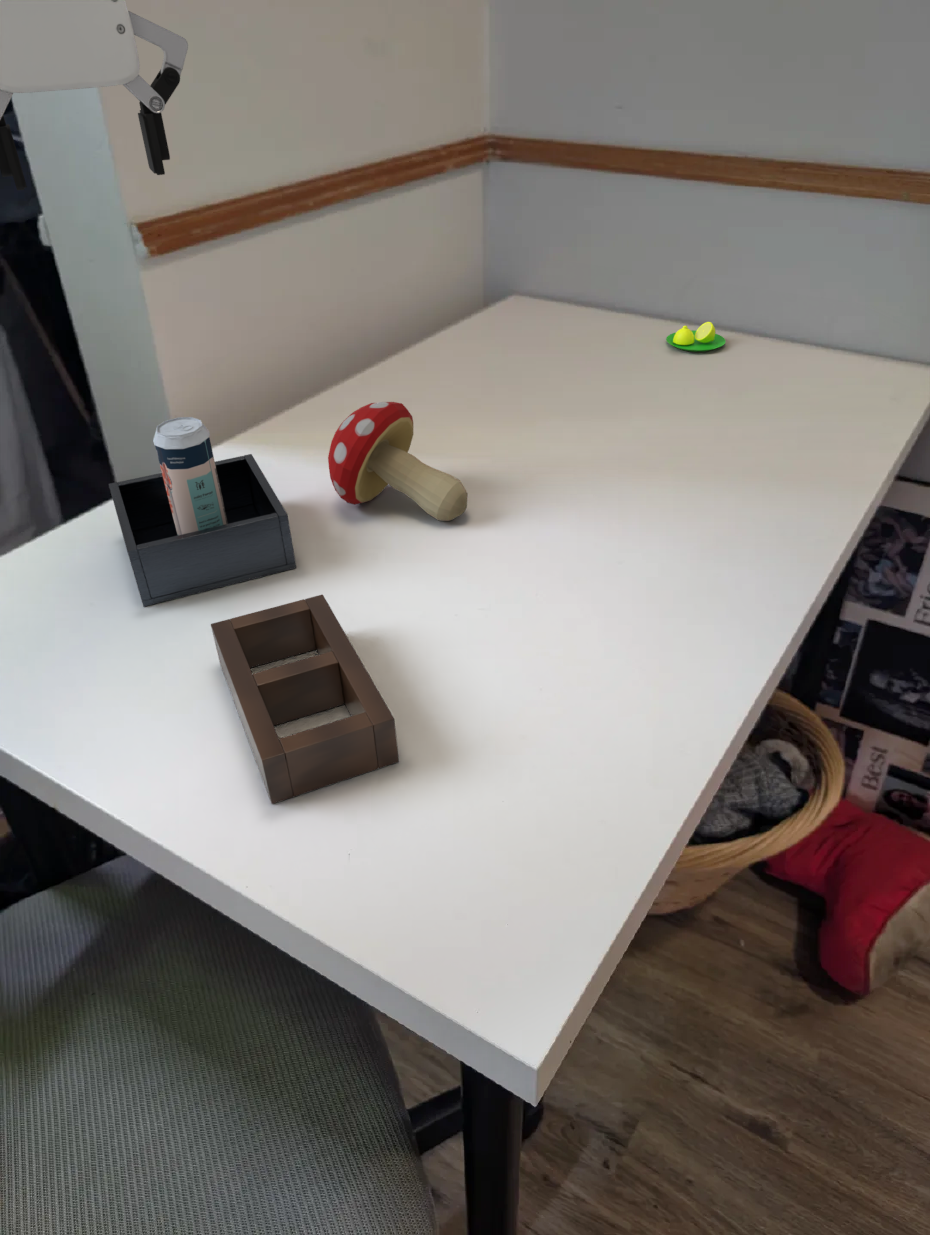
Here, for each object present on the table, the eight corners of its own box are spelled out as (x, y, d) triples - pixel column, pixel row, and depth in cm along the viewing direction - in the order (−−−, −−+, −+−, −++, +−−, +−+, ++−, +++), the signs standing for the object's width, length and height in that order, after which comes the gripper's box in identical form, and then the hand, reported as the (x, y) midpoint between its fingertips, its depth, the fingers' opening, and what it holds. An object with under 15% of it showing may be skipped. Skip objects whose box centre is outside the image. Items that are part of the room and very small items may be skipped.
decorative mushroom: (506, 465, 93) (387, 392, 96) (478, 452, 82) (344, 370, 85) (451, 559, 95) (336, 485, 98) (416, 559, 84) (288, 475, 87)
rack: (271, 804, 60) (261, 760, 58) (220, 664, 72) (210, 623, 70) (399, 762, 63) (394, 718, 60) (328, 634, 75) (322, 593, 73)
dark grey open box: (143, 607, 79) (127, 551, 76) (123, 535, 89) (108, 483, 86) (296, 568, 83) (287, 514, 80) (260, 504, 94) (251, 453, 90)
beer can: (198, 529, 89) (171, 412, 82) (242, 536, 87) (218, 417, 80) (170, 555, 85) (139, 434, 78) (215, 562, 84) (187, 440, 77)
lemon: (707, 332, 131) (710, 312, 129) (735, 350, 125) (738, 329, 123) (655, 339, 129) (657, 318, 128) (681, 357, 123) (683, 337, 121)
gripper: (149, -115, 63) (199, 159, 73) (-132, -111, 58) (-36, 184, 68) (166, -124, 58) (218, 174, 68) (-143, -121, 52) (-37, 203, 62)
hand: (90, 179), depth 68 cm, fingers open, 9 cm apart
